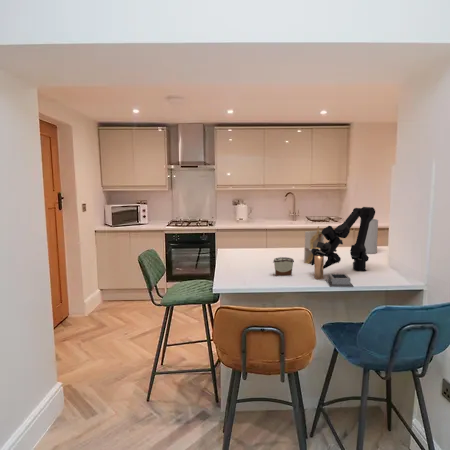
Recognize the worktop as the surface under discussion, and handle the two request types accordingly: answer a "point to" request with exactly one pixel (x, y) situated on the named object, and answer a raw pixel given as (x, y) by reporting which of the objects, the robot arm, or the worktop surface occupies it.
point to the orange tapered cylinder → (318, 266)
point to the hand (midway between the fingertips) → (317, 266)
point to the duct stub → (339, 280)
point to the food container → (283, 266)
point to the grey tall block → (371, 237)
